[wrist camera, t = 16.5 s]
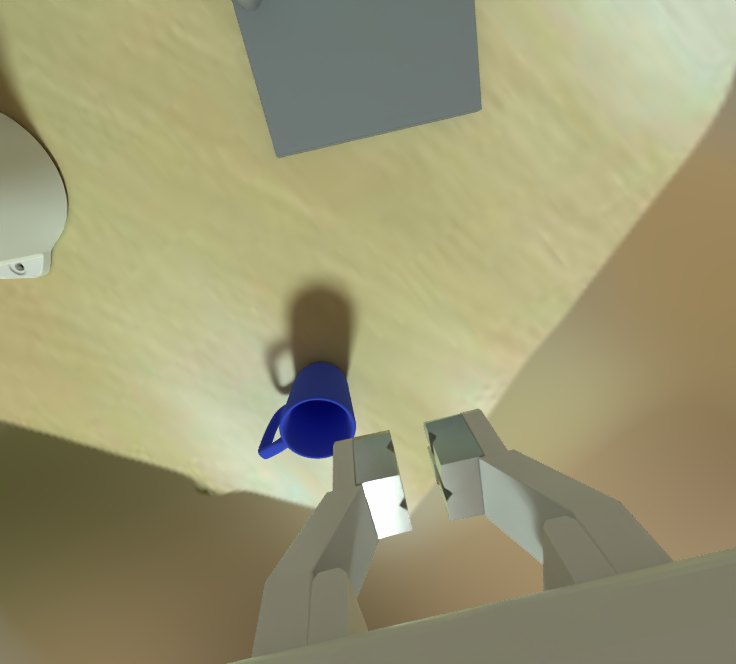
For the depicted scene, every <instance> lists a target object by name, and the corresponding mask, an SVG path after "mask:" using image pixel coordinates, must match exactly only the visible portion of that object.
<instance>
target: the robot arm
mask: <svg viewBox="0 0 736 664" xmlns="http://www.w3.org/2000/svg"><path fill="white" fill-rule="evenodd" d="M66 218H67V198H66V193H65V189H64V185H63V182H62V179H61V177H60V175H59V172H58V170H57V168H56V167H55V165H54V163H53V161H52V160H51V158H50V157H49V155H48V154H47V152H46V151H45V150H44V149H43V147H42V146H41V145H40V144H39V143H38V141H37V140H36V139H35V138H34V137H33V136H32V135H31V134H30V133H29V132H27V131H26V130H25V129H24V128H23V127H22V126H20V125H19V124H18V123H16V122H15V121H14V120H12V119H11V118H9V117H8V116H6V115H4V114H3V113H1V112H0V279H9V278H35V277H41V276H45V275H47V274H48V272H49V270H50V266H51V251H52V248H53V246H54V244H55V243H56V241H57V240H58V238H59V237H60V235H61V233H62V231H63V229H64V226H65V223H66ZM21 264H22V265H23V266H24V269H23V268H22V267H21ZM424 430H425V435H426V438H427V441H428V444H429V446H428V452H429V456H430V461H431V465H432V469H433V472H434V475H435V478H436V481H437V484H439V485H440V489H441V494H442V499H443V502H444V505H445V508H446V510H447V513H448V516H449V518H450V521H454V520H459V519H464V518H469V517H474V516H479V515H484V514H485V517H487V518H488V519H489V520H490V521H491V522H493V523H494V524H495V525H496V526H497V527H499V528H500V529H501V530H502V531H503V532H505V533H506V534H507V535H508V536H509V537H511V538H512V539H513V540H514V541H515V542H516V543H518V544H519V545H520V546H521V547H522V548H524V549H525V550H526V551H527V552H528V553H530V554H531V555H532V556H533V557H534V558H536V559H537V560H538V561H539V562H540V563H542V564H543V592H539V593H534V594H530V595H526V596H521V597H517V598H512V599H508V600H504V601H499V602H495V603H491V604H487V605H482V606H478V607H473V608H469V609H465V610H460V611H456V612H451V613H447V614H442V615H438V616H434V617H429V618H425V619H421V620H416V621H412V622H407V623H403V624H399V625H394V626H390V627H385V628H381V629H377V630H372V631H368V629H367V626H366V624H365V621H364V618H363V616H362V613H361V610H360V608H359V605H358V602H357V597H358V595H359V592H360V589H361V587H362V584H363V581H364V579H365V576H366V573H367V571H368V568H369V566H370V563H371V561H372V558H373V555H374V553H375V550H376V547H377V545H378V542H379V540H378V539H379V538H383V537H387V536H391V535H395V534H398V533H402V532H406V531H410V530H412V527H411V522H410V518H409V513H408V508H407V504H406V499H405V495H404V490H403V486H402V481H401V477H400V473H399V468H398V464H397V460H396V455H395V451H394V447H393V443H392V439H391V434H390V430H388V431H383V432H378V433H373V434H368V435H363V436H359V437H354V438H350V439H345V440H341V441H336V442H335V443H334V445H333V491H331V492H327V493H326V495H325V496H324V498H323V499H322V500H321V502H320V503H319V505H318V506H317V508H316V509H315V511H314V512H313V514H312V515H311V516H310V518H309V520H308V521H307V522H306V524H305V525H304V527H303V528H302V530H301V531H300V532H299V534H298V535H297V537H296V538H295V540H294V541H293V543H292V544H291V546H290V547H289V548H288V550H287V551H286V553H285V554H284V556H283V557H282V559H281V560H280V562H279V563H278V564H277V566H276V567H275V569H274V570H273V572H272V573H271V575H270V576H269V578H268V579H267V580H266V582H265V586H264V592H263V597H262V603H261V608H260V613H259V619H258V625H257V630H256V635H255V641H254V646H253V652H252V657H251V658H250V659H245V660H241V661H236V662H232V663H227V664H736V548H732V549H727V550H723V551H718V552H714V553H709V554H706V555H701V556H696V557H692V558H688V559H683V560H679V561H673V560H672V559H671V558H670V556H669V555H668V554H667V553H666V552H665V551H664V550H663V549H662V548H661V546H659V544H658V543H657V542H656V541H655V540H654V539H653V538H652V536H651V535H650V534H649V533H648V532H647V531H646V530H645V529H644V528H643V527H642V525H641V524H640V523H639V522H638V521H637V520H636V519H635V518H634V516H633V515H632V514H631V513H630V512H629V511H628V510H627V509H626V508H625V506H624V505H623V504H622V503H621V502H620V501H617V500H615V499H613V498H611V497H609V496H607V495H605V494H603V493H601V492H599V491H597V490H595V489H593V488H591V487H589V486H587V485H585V484H582V483H581V482H579V481H577V480H575V479H573V478H571V477H569V476H567V475H564V474H562V473H560V472H558V471H556V470H554V469H552V468H550V467H548V466H546V465H544V464H542V463H540V462H538V461H536V460H534V459H532V458H530V457H528V456H526V455H524V454H522V453H519V452H518V451H516V450H510V451H508V450H507V449H506V447H505V446H504V444H503V443H502V441H501V440H500V438H499V437H498V435H497V434H496V432H495V430H494V429H493V427H492V426H491V424H490V423H489V421H488V420H487V418H486V417H485V415H484V414H483V412H482V411H481V410H480V409H475V410H471V411H467V412H463V413H460V414H457V415H453V416H448V417H444V418H440V419H436V420H431V421H427V422H424Z"/></svg>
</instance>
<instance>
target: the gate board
mask: <svg viewBox="0 0 736 664" xmlns="http://www.w3.org/2000/svg"><path fill="white" fill-rule="evenodd" d="M232 2H233V6H234V9H235V13H236V16H237V20H238V23H239V27H240V30H241V34H242V37H243V41H244V44H245V48H246V51H247V55H248V58H249V62H250V65H251V69H252V72H253V76H254V79H255V83H256V86H257V90H258V93H259V97H260V100H261V104H262V107H263V111H264V114H265V118H266V121H267V125H268V128H269V132H270V135H271V139H272V142H273V146H274V149H275V153H276V156H277V157H278V158H281V157H285V156H290V155H294V154H298V153H302V152H307V151H311V150H315V149H320V148H324V147H328V146H332V145H337V144H341V143H345V142H350V141H354V140H358V139H362V138H367V137H371V136H375V135H379V134H384V133H388V132H392V131H397V130H401V129H405V128H409V127H414V126H418V125H422V124H427V123H431V122H435V121H439V120H444V119H448V118H452V117H456V116H461V115H465V114H469V113H474V112H477V111H479V110H481V109H482V107H481V92H480V77H479V62H478V47H477V32H476V17H475V2H474V0H232Z"/></svg>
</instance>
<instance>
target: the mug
mask: <svg viewBox="0 0 736 664" xmlns="http://www.w3.org/2000/svg"><path fill="white" fill-rule="evenodd" d="M278 426H279V430H280V435H281V437H280V438H279V439H278V440H277V441H275V442H273V439H274V436H275V433H276V431H277V429H278ZM355 431H356V422H355V417H354V412H353V407H352V402H351V397H350V393H349V388H348V383H347V380H346V377H345V375H344V374H343V372H342V371H341V370H340V369H339V368H337V367H336V366H334V365H332V364H329V363H324V362H318V363H313V364H310V365H308V366H306V367H305V368H304V369H302V370H301V371H300V373H299V374H298V375H297V377H296V379H295V382H294V384H293V387H292V390H291V392H290V395H289V398H288V401H287V403H286V405H284V406H282V407H281V408H280V409H279V410H278V411H277V412H276V413H275V414H274V416H273V417H272V419H271V421H270V423H269V425H268V427H267V429H266V431H265V433H264V436H263V438H262V441H261V444H260V446H259V449H258V453H259V455H260V456H261V457H262V458H264V459H268V458H270V457H272V456H274V455H276V454H278V453H280V452H282V451H283V450H285V449H286V448H289V449H290V450H292V451H293V452H295V453H296V454H298V455H301V456H303V457H307V458H315V459H319V458H327V457H331V456H333V445H334V443H335V442H336V441H341V440H345V439H350V438H354V435H355ZM272 442H273V443H272Z"/></svg>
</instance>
